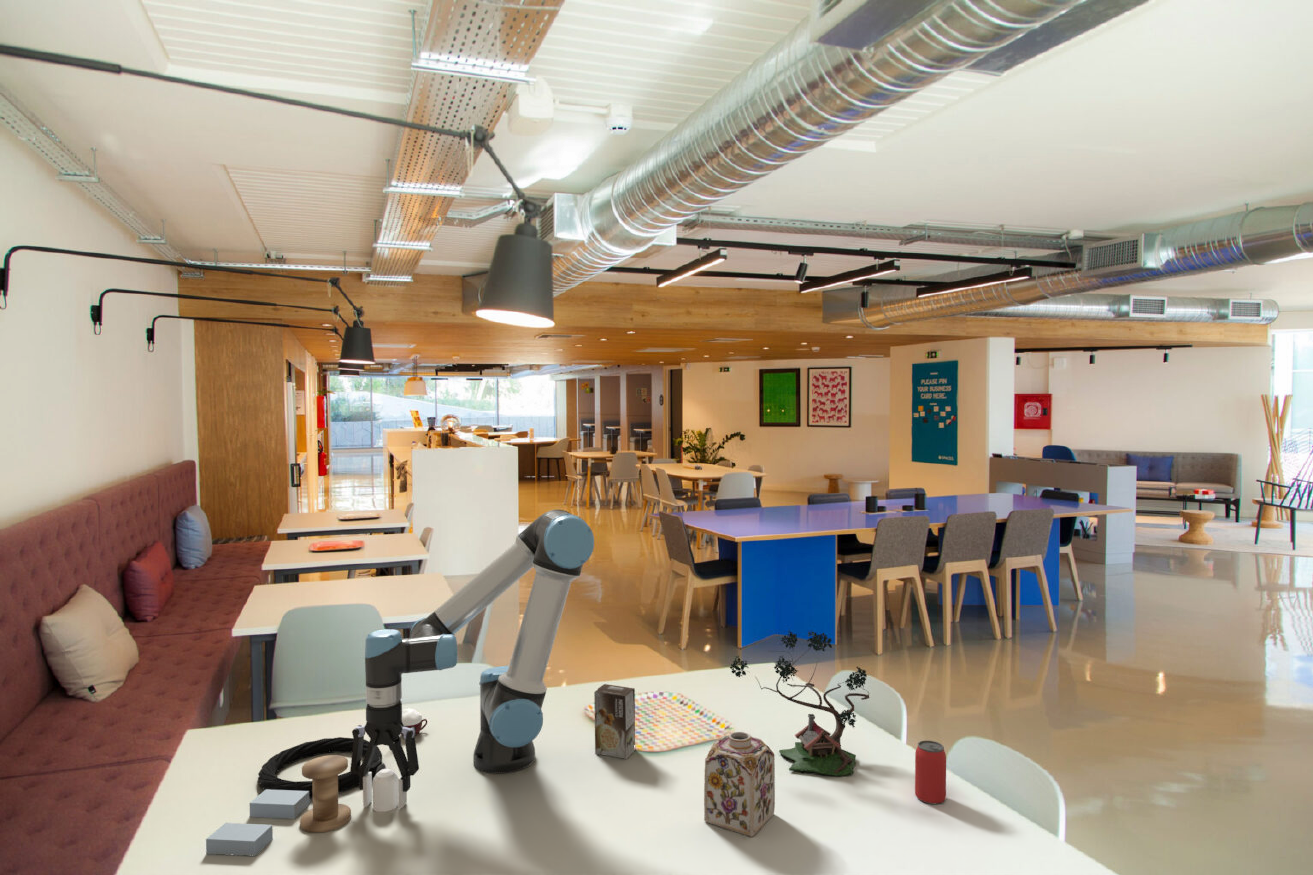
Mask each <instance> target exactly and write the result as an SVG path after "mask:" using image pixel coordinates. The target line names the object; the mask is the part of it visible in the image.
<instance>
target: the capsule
mask: <svg viewBox="0 0 1313 875" xmlns="http://www.w3.org/2000/svg"><path fill="white" fill-rule="evenodd" d="M397 807H398V774H397V773H396V772H395V771H394V770H393V769H390V768H386V769H382V770H381V771H379V772H378V773H377V774H376V775H375V777H374V778H373V781H372V810H373V811H374V812H379V813H383V812H389V811H391V810H394V809H395V808H397Z"/></svg>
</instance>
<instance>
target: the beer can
mask: <svg viewBox="0 0 1313 875" xmlns="http://www.w3.org/2000/svg"><path fill="white" fill-rule="evenodd" d="M914 756H915V758H914V759H915V762H914V764H915V766H914V767H915V770H914V795H915V797H916V798H917V799H918V800H919V801H921V802H923V803H926V804H931V805H939V804H943V803H944V802H945V801H946V799H947V755H946V751H945V748H944V745H943V744H941V743H940V742H937V741H934V740H921V741H918V743H917V746H916V749H915V753H914Z"/></svg>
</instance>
